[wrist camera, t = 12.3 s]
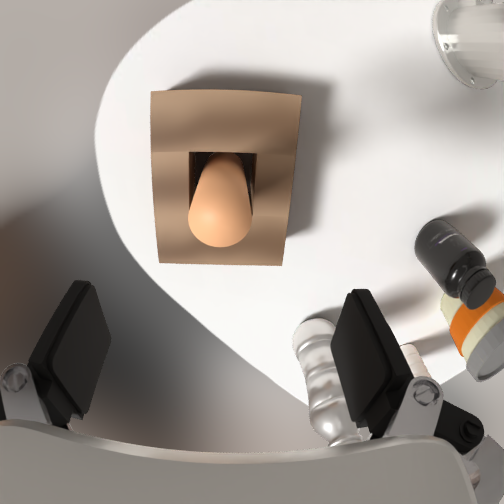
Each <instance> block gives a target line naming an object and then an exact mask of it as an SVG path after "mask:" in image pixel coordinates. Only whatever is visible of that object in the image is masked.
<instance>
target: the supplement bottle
mask: <svg viewBox="0 0 504 504" xmlns="http://www.w3.org/2000/svg"><path fill="white" fill-rule="evenodd" d="M415 254H416V257H417V258H418V260H419V261H420V262H421V264H422V265H423V266H424V267H425V268H426V270H427V271H428V272H429V273H430V274H431V276H432V277H433V278H434V279H435V281H436V282H437V283H438V284H439V286H440V287H441V288H442V290H443V291H444V292H445V293H446V294H447V295H448V296H449V297H451V298H455V299H460V300H461V301H462V302H463V303H464V305H465V306H466V307H467V308H468V309H470V310H474V309H477V308H479V307H481V306H482V305H483V304H484V303H485V302H486V301H487V300H488V299H489V298H490V296H491V295H492V293H493V291H494V289H495V285H496V280H495V278H494V276H493V275H492V274H491V273H490V272H489V270H488V269H487V268H486V261H485V257H484V255H483V254H482V252H481V251H480V250H479V249H478V248H477V247H475V246H474V245H473V244H472V243H471V242H470V241H469V240H468V239H467V238H466V237H464V236H463V235H462V234H461V233H460V232H459V231H458V230H456V229H455V228H454V227H453V226H452V225H451V224H449V223H448V222H446V221H444V220H434V221H431V222H430V223H428V224H427V225H425V226H424V227H423V228H422V230H421V231H420V232H419V234H418V236H417V238H416V241H415Z"/></svg>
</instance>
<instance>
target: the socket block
mask: <svg viewBox="0 0 504 504" xmlns="http://www.w3.org/2000/svg"><path fill="white" fill-rule="evenodd" d="M301 100H302V95H293V94H284V93H274V92H262V91H246V90H218V89H194V90H165V91H151V115H150V123H151V167H152V187H153V203H154V216H155V227H156V238H157V248H158V257H159V263H176V264H216V265H265V266H282V262H283V254H284V247H285V240H286V232H287V225H288V217H289V209H290V201H291V193H292V185H293V176H294V167H295V159H296V149H297V140H298V131H299V121H300V111H301ZM196 152H239V153H252V168H251V182H250V196H249V201H250V207H251V214H252V223H251V227H250V229H249V232H248V233H247V235H246V236H245V237H244V238H243V239H242V240H241V241H239V242H238V243H236V244H234V245H231V246H227V247H213V246H210V245H207V244H205V243H203V242H201V241H200V240H199V239H197V238H196V237H195V235H194V234H193V233H192V231H191V229H190V226H189V222H188V214H189V210H190V207H191V203H192V200H193V197H194V194H195V157H196Z"/></svg>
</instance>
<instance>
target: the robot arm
mask: <svg viewBox="0 0 504 504" xmlns="http://www.w3.org/2000/svg"><path fill="white" fill-rule="evenodd" d="M433 33H434V38H435V41H436V45H437V47H438V50H439V52H440V55H441V57H442V58H443V60H444V62H445V64H446V65H447V67H448V68H449V70H450V71H451V72H452V73H453V74H454V76H455V77H456V78H457V79H458V80H460V81H461V82H462V83H463V84H465V85H467V86H469V87H472V88H475V89H488V88H490V87H492V86H493V85H494V84H495V83H496V82H497V80H500V81H504V2H502V3H493V0H481V1H480V0H441V1H440V2H439V3H438V4H437V5H436V8H435V10H434V13H433ZM110 343H111V336H110V332H109V329H108V327H107V324H106V321H105V318H104V315H103V312H102V309H101V306H100V303H99V299H98V296H97V293H96V289H95V287H94V286H93V285H91V283H90V282H89V281H81V280H75V281H74V282H73V283H72V285H71V287H70V288H69V290H68V292H67V293H66V294H65V296H64V298H63V299H62V301H61V302H60V305H59V306H58V308H57V309H56V311H55V312H54V314H53V316H52V318H51V320H50V321H49V323H48V325H47V326H46V328H45V330H44V332H43V334H42V335H41V337H40V339H39V341H38V343H37V345H36V347H35V349H34V351H33V352H32V354H31V357H30V358H29V363H28V365H27V366H26V365H25V364H22V363H15V364H12V365H10V366H8V367H7V368H6V369H5V370H4V371H3V373H2V375H1V377H0V504H499V502H500V500H501V499H502V497H503V495H504V449H503V448H502V447H501V446H500V445H499V444H498V443H497V442H495V440H493V439H492V438H491V437H490V436H489V435H486V436H484V428H483V425H482V423H481V421H480V420H479V419H478V418H477V417H476V416H474V415H472V414H470V413H468V412H466V411H464V410H462V409H460V408H458V407H457V406H454V405H453V404H450V403H449V402H447V401H445V400H443V391H442V388H441V387H440V385H439V384H438V383H437V382H436V381H435V380H433V379H432V378H430V377H426V376H419V377H414V375H413V373H412V371H411V369H410V367H409V365H408V363H407V360H406V358H405V356H404V354H403V352H402V350H401V348H400V346H399V344H398V342H397V340H396V338H395V336H394V334H393V332H392V330H391V328H390V326H389V325H388V324H387V322H386V320H385V318H384V317H383V315H382V313H381V311H380V309H379V307H378V305H377V303H376V302H375V300H374V298H373V296H372V294H371V292H370V291H369V290H368V289H353V290H352V292H351V293H348V294H347V296H346V300H345V303H344V306H343V309H342V312H341V315H340V318H339V320H338V323H337V326H336V329H335V332H334V335H333V337H332V340H331V344H330V348H331V353H332V356H333V359H334V363H335V366H336V369H337V373H338V376H339V379H340V383H341V386H342V390H343V393H344V397H345V400H346V404H347V408H348V411H349V415H350V418H351V420H352V422H355V423H356V426H357V428H362V427H368V428H369V431H370V435H369V437H368V438H367V440H366V441H362V442H356V443H351V444H344V445H338V446H330V447H324V448H315V449H307V450H296V451H284V452H267V453H209V452H192V451H180V450H171V449H162V448H153V447H147V446H139V445H133V444H128V443H123V442H118V441H113V440H108V439H103V438H99V437H95V436H90V435H86V434H82V433H77V432H74V431H73V430H72V428H71V426H70V423H69V422H70V418H71V417H73V418H77V419H80V420H82V419H83V416H84V414H86V413H87V412H88V410H89V407H90V404H91V400H92V397H93V394H94V390H95V387H96V384H97V381H98V378H99V375H100V372H101V369H102V366H103V363H104V360H105V357H106V354H107V352H108V349H109V346H110Z"/></svg>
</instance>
